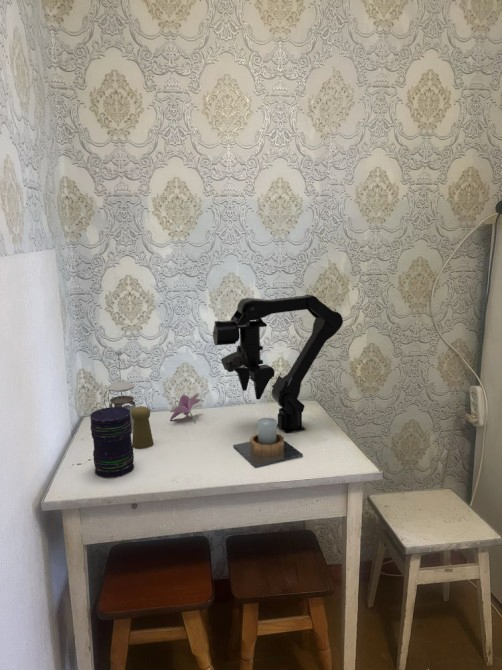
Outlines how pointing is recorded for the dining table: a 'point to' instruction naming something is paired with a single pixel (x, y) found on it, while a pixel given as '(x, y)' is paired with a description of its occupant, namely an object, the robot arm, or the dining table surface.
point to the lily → (185, 406)
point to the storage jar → (112, 442)
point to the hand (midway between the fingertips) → (251, 394)
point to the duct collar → (267, 451)
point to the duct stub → (267, 431)
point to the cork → (141, 428)
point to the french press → (121, 400)
